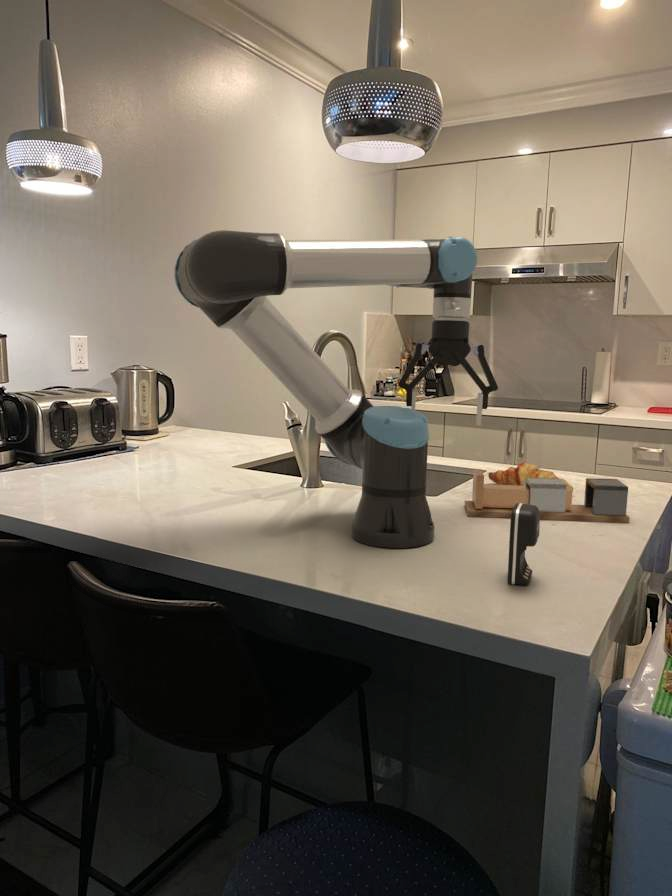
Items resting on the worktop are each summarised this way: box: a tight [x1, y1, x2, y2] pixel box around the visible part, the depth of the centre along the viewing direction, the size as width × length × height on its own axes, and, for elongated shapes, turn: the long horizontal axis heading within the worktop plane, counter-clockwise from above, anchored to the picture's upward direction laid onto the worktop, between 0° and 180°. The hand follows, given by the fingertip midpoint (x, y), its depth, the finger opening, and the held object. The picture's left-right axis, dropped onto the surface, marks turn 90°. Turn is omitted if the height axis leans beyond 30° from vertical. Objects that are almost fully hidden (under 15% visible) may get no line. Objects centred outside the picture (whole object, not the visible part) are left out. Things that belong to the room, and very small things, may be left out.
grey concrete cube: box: [525, 478, 567, 513], centre depth 140 cm, size 7×7×6 cm
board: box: [464, 500, 630, 524], centre depth 141 cm, size 32×9×1 cm, turn 84°
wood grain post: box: [471, 468, 573, 510], centre depth 141 cm, size 20×7×7 cm, turn 84°
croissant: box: [487, 462, 574, 493], centre depth 163 cm, size 21×10×8 cm, turn 54°
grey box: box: [583, 477, 629, 516], centre depth 139 cm, size 6×8×6 cm
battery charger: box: [506, 503, 541, 586], centre depth 102 cm, size 7×4×11 cm, turn 159°
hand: (445, 423), depth 140 cm, fingers open, 13 cm apart
